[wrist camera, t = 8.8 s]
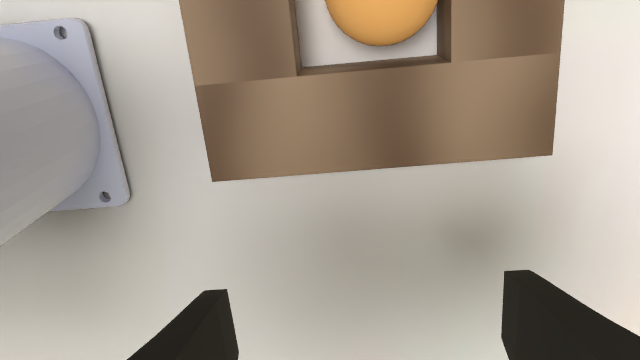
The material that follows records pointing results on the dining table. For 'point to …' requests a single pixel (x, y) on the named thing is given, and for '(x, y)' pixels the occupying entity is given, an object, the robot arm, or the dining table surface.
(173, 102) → the dining table surface
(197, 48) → the brown square frame
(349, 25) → the ball
